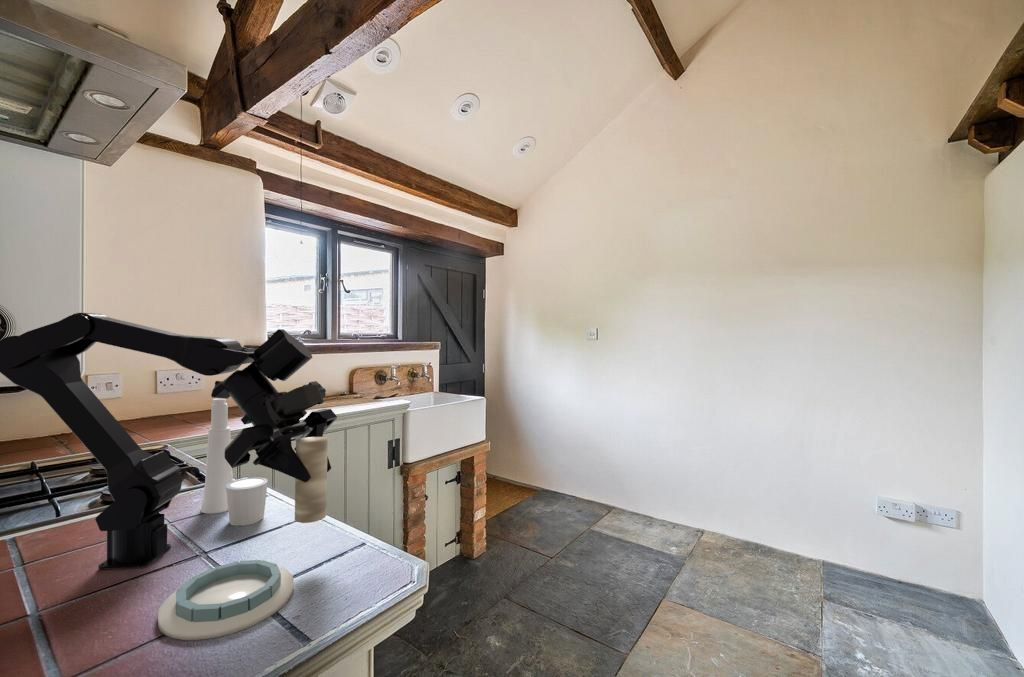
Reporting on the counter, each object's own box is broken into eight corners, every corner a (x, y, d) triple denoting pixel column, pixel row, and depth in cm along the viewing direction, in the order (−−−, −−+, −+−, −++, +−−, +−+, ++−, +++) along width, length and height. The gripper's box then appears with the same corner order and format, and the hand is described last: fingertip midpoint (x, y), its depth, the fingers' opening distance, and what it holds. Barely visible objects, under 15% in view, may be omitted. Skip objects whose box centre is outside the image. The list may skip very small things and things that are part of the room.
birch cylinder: (290, 523, 67) (291, 443, 67) (300, 511, 71) (301, 436, 71) (321, 522, 68) (322, 443, 67) (329, 510, 72) (331, 436, 72)
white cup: (248, 528, 81) (248, 490, 80) (216, 525, 82) (216, 487, 82) (275, 513, 87) (276, 478, 87) (245, 510, 89) (245, 475, 89)
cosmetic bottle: (239, 501, 93) (240, 396, 93) (232, 511, 88) (233, 400, 88) (205, 504, 91) (206, 397, 91) (196, 515, 86) (197, 401, 85)
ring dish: (126, 644, 51) (126, 622, 51) (202, 573, 65) (202, 556, 65) (265, 635, 52) (265, 614, 52) (308, 568, 67) (308, 552, 67)
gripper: (242, 370, 61) (311, 457, 59) (328, 362, 79) (383, 428, 77) (195, 424, 63) (260, 510, 61) (289, 404, 81) (342, 470, 79)
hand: (319, 475), depth 69 cm, fingers closed on birch cylinder, 4 cm apart
